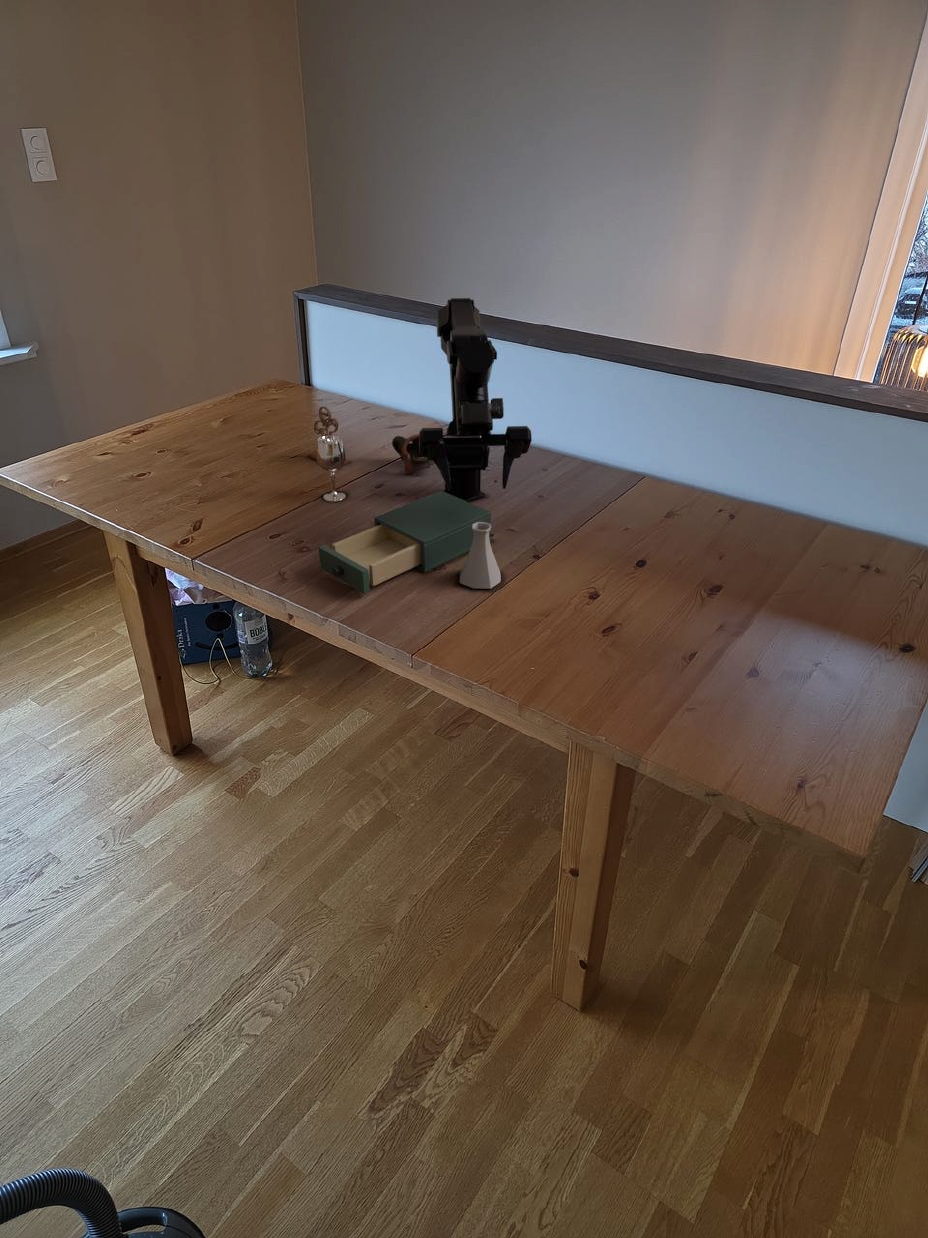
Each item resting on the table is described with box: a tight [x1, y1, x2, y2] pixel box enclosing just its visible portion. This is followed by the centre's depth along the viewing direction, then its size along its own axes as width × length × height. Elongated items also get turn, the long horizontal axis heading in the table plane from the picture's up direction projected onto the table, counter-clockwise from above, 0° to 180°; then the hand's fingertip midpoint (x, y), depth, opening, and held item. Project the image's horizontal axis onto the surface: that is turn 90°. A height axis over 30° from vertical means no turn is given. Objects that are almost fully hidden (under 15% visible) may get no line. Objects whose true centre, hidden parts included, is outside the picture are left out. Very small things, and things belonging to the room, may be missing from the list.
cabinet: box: [373, 490, 492, 573], centre depth 144 cm, size 16×13×6 cm
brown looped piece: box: [309, 406, 349, 465], centre depth 175 cm, size 9×4×12 cm, turn 47°
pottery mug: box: [391, 433, 436, 475], centre depth 174 cm, size 12×10×8 cm
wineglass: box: [315, 435, 347, 502], centre depth 158 cm, size 6×6×12 cm
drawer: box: [317, 524, 422, 595], centre depth 135 cm, size 17×12×4 cm
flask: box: [459, 522, 502, 590], centre depth 132 cm, size 7×7×10 cm
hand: (477, 488), depth 134 cm, fingers open, 9 cm apart
